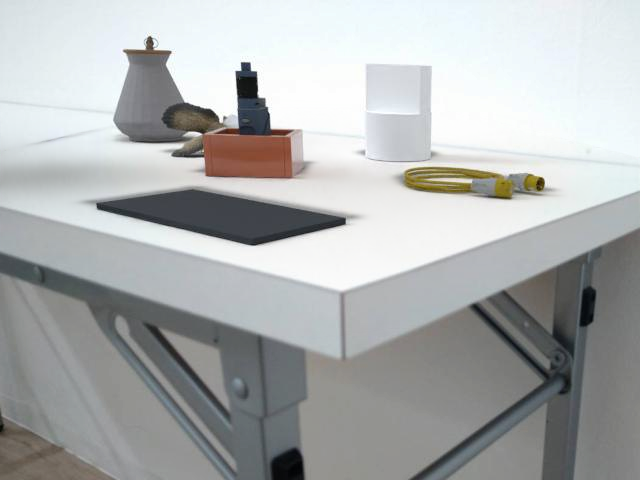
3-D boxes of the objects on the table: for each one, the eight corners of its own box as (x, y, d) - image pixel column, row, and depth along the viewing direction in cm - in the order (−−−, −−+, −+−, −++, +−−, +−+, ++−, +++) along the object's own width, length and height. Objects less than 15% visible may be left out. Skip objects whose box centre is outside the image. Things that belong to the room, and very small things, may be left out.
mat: (96, 208, 64) (95, 202, 64) (193, 194, 72) (192, 188, 72) (252, 245, 54) (252, 238, 54) (346, 223, 61) (346, 217, 61)
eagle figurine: (215, 139, 106) (153, 130, 99) (233, 97, 102) (170, 85, 95) (235, 174, 103) (173, 167, 96) (255, 132, 99) (191, 122, 92)
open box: (205, 176, 82) (202, 134, 81) (224, 165, 90) (221, 127, 89) (292, 178, 83) (290, 136, 81) (303, 167, 91) (302, 129, 89)
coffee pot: (195, 143, 110) (185, 34, 105) (111, 143, 107) (97, 31, 102) (195, 129, 129) (187, 37, 124) (124, 129, 126) (112, 34, 121)
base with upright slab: (442, 156, 104) (444, 65, 100) (409, 163, 96) (410, 65, 92) (387, 151, 108) (387, 63, 104) (352, 157, 100) (350, 63, 96)
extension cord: (444, 203, 71) (445, 182, 70) (386, 178, 84) (386, 160, 84) (552, 196, 76) (553, 177, 75) (481, 174, 89) (482, 157, 88)
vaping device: (237, 174, 84) (229, 61, 80) (255, 167, 89) (248, 61, 85) (259, 175, 84) (252, 62, 80) (275, 168, 89) (270, 62, 85)
